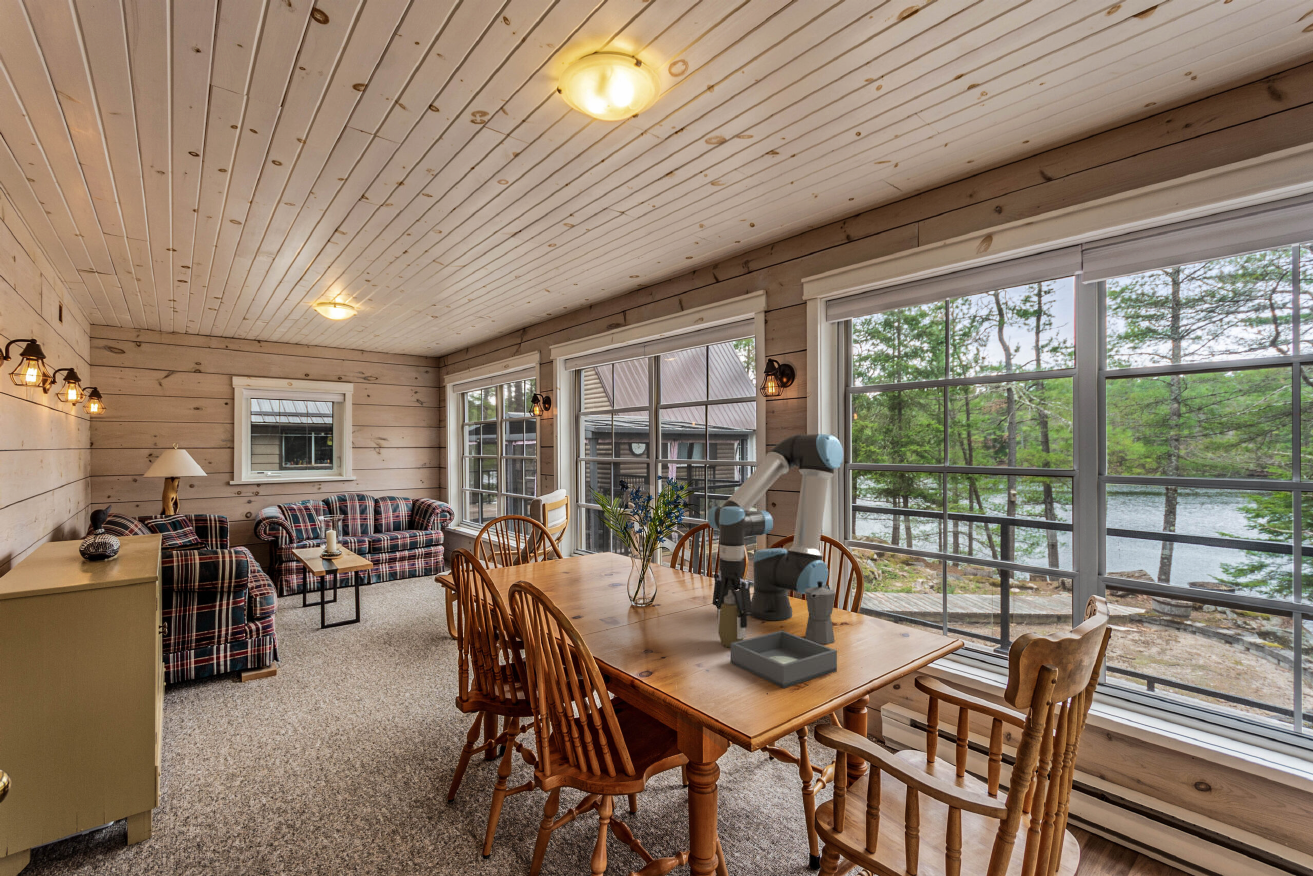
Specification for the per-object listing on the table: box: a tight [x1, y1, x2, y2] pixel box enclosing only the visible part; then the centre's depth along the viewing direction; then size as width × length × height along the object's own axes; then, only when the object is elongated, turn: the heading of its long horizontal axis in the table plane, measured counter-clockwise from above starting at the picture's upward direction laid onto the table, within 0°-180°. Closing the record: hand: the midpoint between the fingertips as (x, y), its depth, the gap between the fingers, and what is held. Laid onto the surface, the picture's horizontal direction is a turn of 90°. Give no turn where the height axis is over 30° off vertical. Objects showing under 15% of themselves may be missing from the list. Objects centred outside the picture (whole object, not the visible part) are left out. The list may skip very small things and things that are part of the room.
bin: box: [730, 630, 838, 689], centre depth 161 cm, size 20×20×6 cm
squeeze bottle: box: [717, 589, 744, 648], centre depth 178 cm, size 8×8×18 cm
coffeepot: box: [804, 581, 836, 645], centre depth 184 cm, size 15×9×18 cm, turn 147°
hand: (731, 634), depth 178 cm, fingers closed on squeeze bottle, 8 cm apart
